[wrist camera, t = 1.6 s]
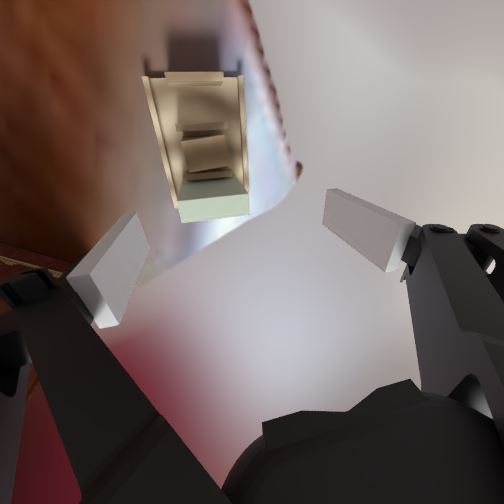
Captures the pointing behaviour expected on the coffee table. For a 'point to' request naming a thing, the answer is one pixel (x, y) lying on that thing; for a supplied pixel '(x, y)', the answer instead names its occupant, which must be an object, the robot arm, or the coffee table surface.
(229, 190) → the sage board
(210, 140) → the offcut oak
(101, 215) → the coffee table surface
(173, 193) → the rack
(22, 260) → the decorative book
